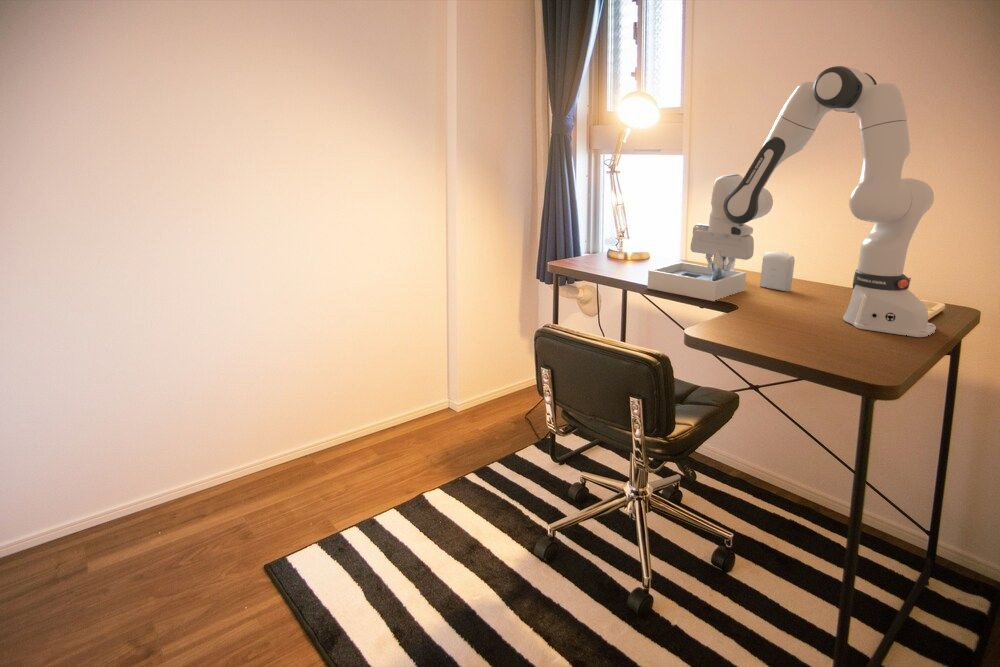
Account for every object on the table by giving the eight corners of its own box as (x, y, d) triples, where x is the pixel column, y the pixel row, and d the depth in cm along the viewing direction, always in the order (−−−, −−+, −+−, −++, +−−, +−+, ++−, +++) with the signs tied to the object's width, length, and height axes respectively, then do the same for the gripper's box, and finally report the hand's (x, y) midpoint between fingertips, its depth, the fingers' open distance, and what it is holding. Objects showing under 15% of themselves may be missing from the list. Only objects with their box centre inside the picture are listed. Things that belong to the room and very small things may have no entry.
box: (744, 290, 233) (746, 272, 231) (714, 301, 219) (716, 282, 217) (678, 278, 248) (680, 261, 247) (647, 288, 235) (648, 270, 233)
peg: (726, 280, 231) (729, 249, 228) (720, 282, 228) (724, 251, 225) (714, 278, 233) (717, 248, 230) (709, 280, 231) (712, 249, 228)
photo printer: (757, 286, 238) (761, 250, 234) (764, 284, 241) (768, 248, 237) (786, 292, 230) (791, 254, 227) (793, 290, 233) (798, 253, 229)
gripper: (688, 224, 230) (685, 266, 234) (749, 231, 217) (744, 275, 221) (698, 222, 235) (694, 263, 239) (758, 229, 221) (753, 272, 225)
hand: (719, 269), depth 230 cm, fingers closed on peg, 4 cm apart
